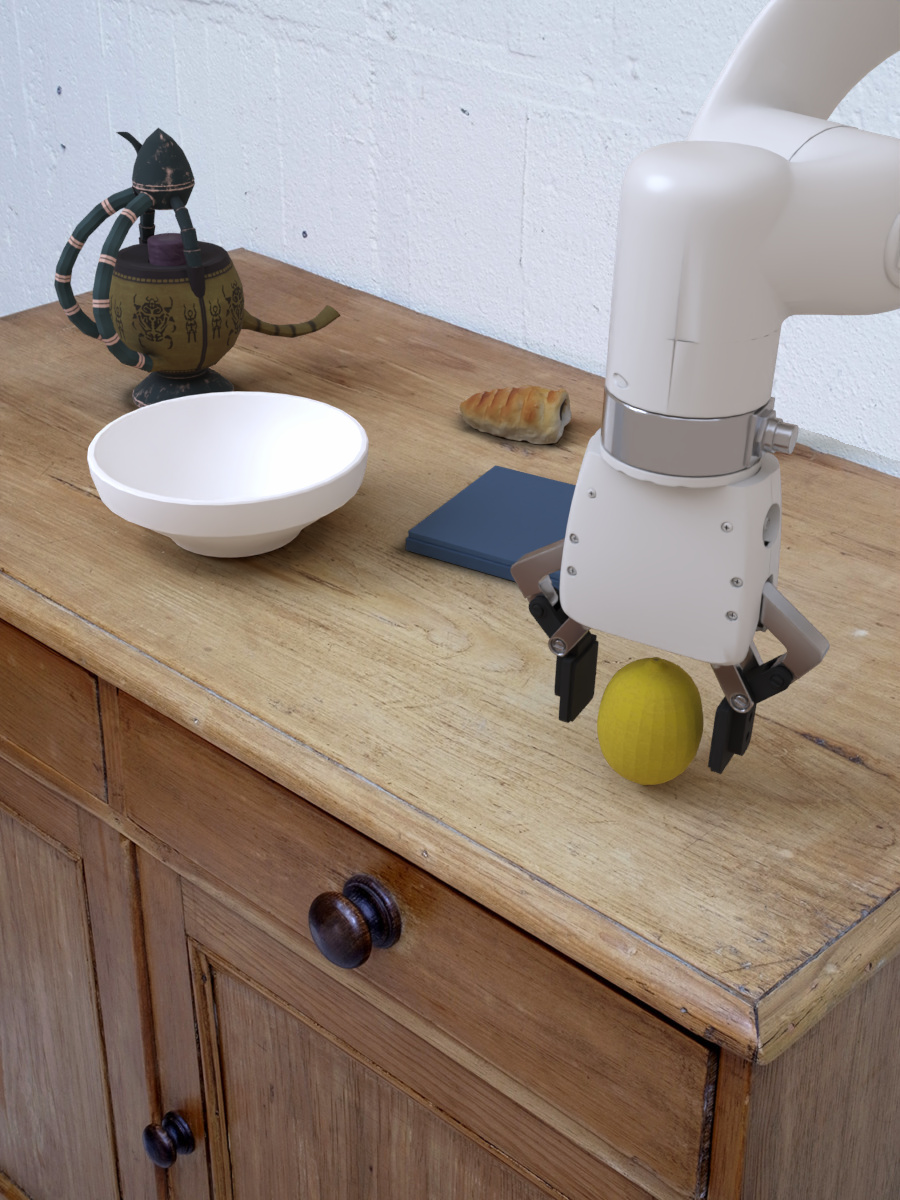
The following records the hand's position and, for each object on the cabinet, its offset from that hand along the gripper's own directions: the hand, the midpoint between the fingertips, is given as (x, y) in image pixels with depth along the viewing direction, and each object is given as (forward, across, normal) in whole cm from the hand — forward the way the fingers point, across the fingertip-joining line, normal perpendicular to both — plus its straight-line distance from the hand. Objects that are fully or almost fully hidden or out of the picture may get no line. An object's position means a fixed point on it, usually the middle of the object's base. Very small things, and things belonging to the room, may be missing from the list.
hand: (648, 732), depth 70 cm
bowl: (+4, +37, -12) cm, 39 cm away
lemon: (+4, 0, 0) cm, 4 cm away
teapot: (+4, +56, -34) cm, 66 cm away
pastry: (+4, +28, -40) cm, 49 cm away
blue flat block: (+3, +15, -23) cm, 28 cm away
